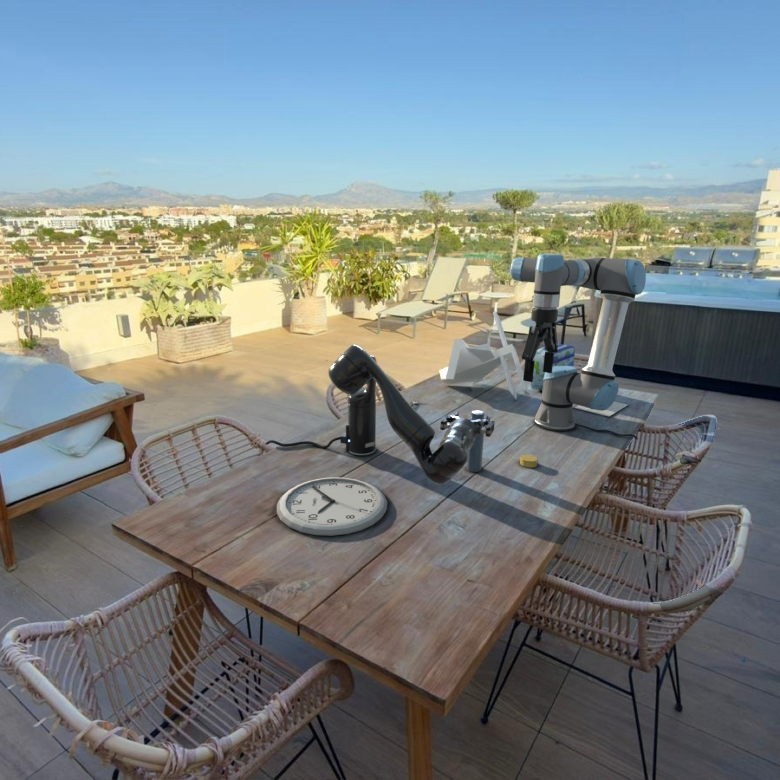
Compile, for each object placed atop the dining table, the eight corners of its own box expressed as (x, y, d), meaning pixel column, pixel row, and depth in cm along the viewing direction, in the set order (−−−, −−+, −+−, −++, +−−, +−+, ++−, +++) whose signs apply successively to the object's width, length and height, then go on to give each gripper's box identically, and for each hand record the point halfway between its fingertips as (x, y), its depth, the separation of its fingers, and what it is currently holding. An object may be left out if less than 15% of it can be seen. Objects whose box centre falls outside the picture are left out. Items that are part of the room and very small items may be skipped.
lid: (534, 460, 173) (535, 454, 172) (538, 467, 167) (539, 461, 167) (518, 460, 173) (519, 454, 172) (522, 467, 168) (522, 461, 167)
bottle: (472, 473, 163) (476, 415, 157) (463, 467, 167) (467, 411, 161) (484, 470, 165) (488, 413, 159) (475, 464, 169) (479, 409, 163)
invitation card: (608, 416, 214) (573, 407, 224) (608, 416, 214) (573, 408, 224) (628, 404, 229) (594, 396, 238) (628, 405, 229) (594, 397, 238)
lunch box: (547, 395, 239) (552, 351, 233) (526, 390, 247) (530, 347, 240) (574, 384, 257) (579, 343, 251) (554, 380, 264) (558, 339, 258)
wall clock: (392, 527, 129) (268, 531, 127) (391, 533, 130) (269, 537, 127) (383, 473, 158) (282, 475, 155) (383, 478, 158) (282, 480, 156)
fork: (403, 411, 216) (403, 406, 215) (414, 400, 230) (414, 395, 230) (409, 412, 215) (409, 407, 215) (420, 400, 229) (420, 396, 229)
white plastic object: (461, 429, 252) (437, 405, 227) (444, 352, 274) (420, 323, 250) (535, 404, 240) (518, 377, 215) (510, 326, 262) (492, 293, 237)
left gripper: (488, 427, 132) (498, 407, 147) (434, 419, 136) (448, 401, 151) (486, 454, 134) (495, 432, 149) (432, 446, 139) (447, 425, 153)
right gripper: (550, 302, 166) (543, 367, 173) (513, 310, 148) (507, 382, 155) (573, 305, 162) (565, 371, 168) (538, 313, 144) (531, 387, 150)
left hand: (471, 416), depth 150 cm, fingers open, 8 cm apart
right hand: (537, 376), depth 161 cm, fingers open, 13 cm apart
